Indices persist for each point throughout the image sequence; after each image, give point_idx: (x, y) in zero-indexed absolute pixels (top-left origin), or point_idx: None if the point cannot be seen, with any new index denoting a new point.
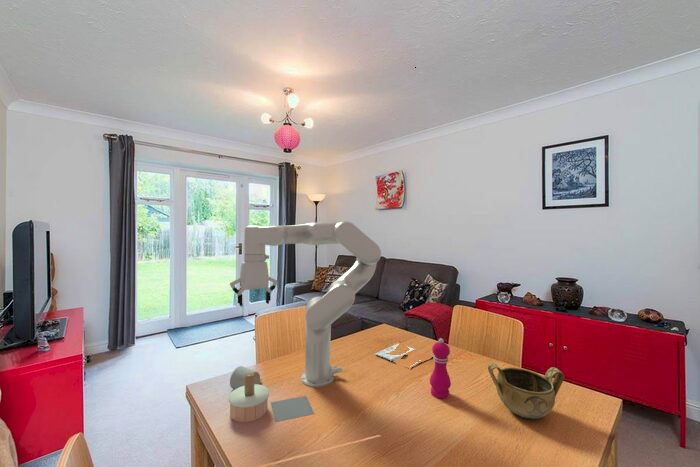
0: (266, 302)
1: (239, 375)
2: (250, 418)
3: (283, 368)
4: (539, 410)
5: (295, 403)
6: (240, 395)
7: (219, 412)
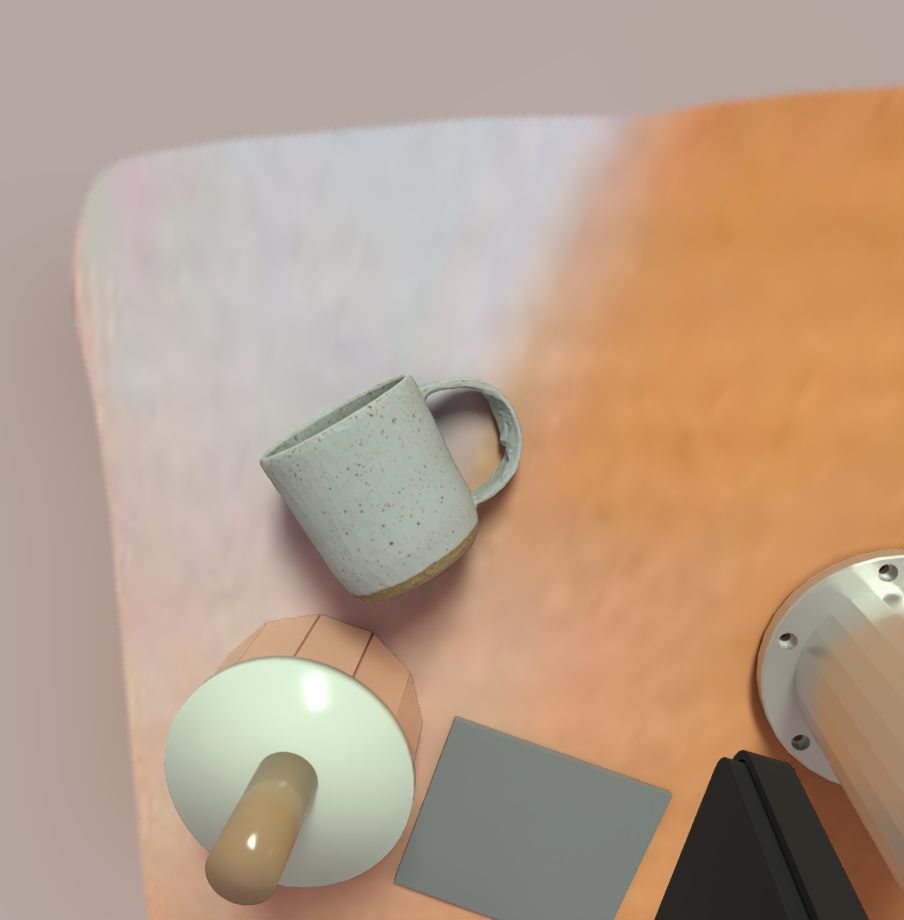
0: (677, 878)
1: (305, 522)
2: None
3: (795, 332)
4: None
5: (568, 821)
6: (234, 760)
7: (182, 610)
